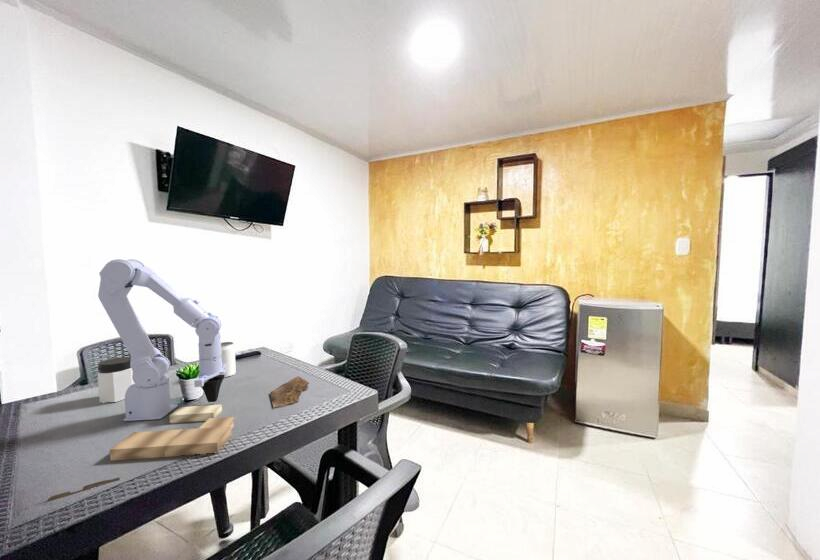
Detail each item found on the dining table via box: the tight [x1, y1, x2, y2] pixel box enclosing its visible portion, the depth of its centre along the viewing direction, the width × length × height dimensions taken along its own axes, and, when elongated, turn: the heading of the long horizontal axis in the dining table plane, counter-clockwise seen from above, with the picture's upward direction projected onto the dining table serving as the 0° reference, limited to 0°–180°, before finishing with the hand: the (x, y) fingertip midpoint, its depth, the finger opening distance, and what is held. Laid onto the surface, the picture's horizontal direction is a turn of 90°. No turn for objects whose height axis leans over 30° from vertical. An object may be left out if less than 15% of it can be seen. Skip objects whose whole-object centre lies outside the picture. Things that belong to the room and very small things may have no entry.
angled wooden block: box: [109, 416, 235, 462], centre depth 76 cm, size 22×12×2 cm, turn 96°
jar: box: [97, 356, 135, 403], centre depth 101 cm, size 9×8×12 cm
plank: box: [168, 404, 223, 424], centre depth 89 cm, size 11×5×2 cm, turn 98°
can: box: [220, 341, 237, 378], centre depth 121 cm, size 6×6×12 cm
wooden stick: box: [33, 477, 121, 506], centre depth 61 cm, size 12×3×1 cm, turn 122°
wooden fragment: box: [269, 376, 310, 410], centre depth 106 cm, size 26×11×1 cm, turn 2°
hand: (212, 401), depth 96 cm, fingers closed
